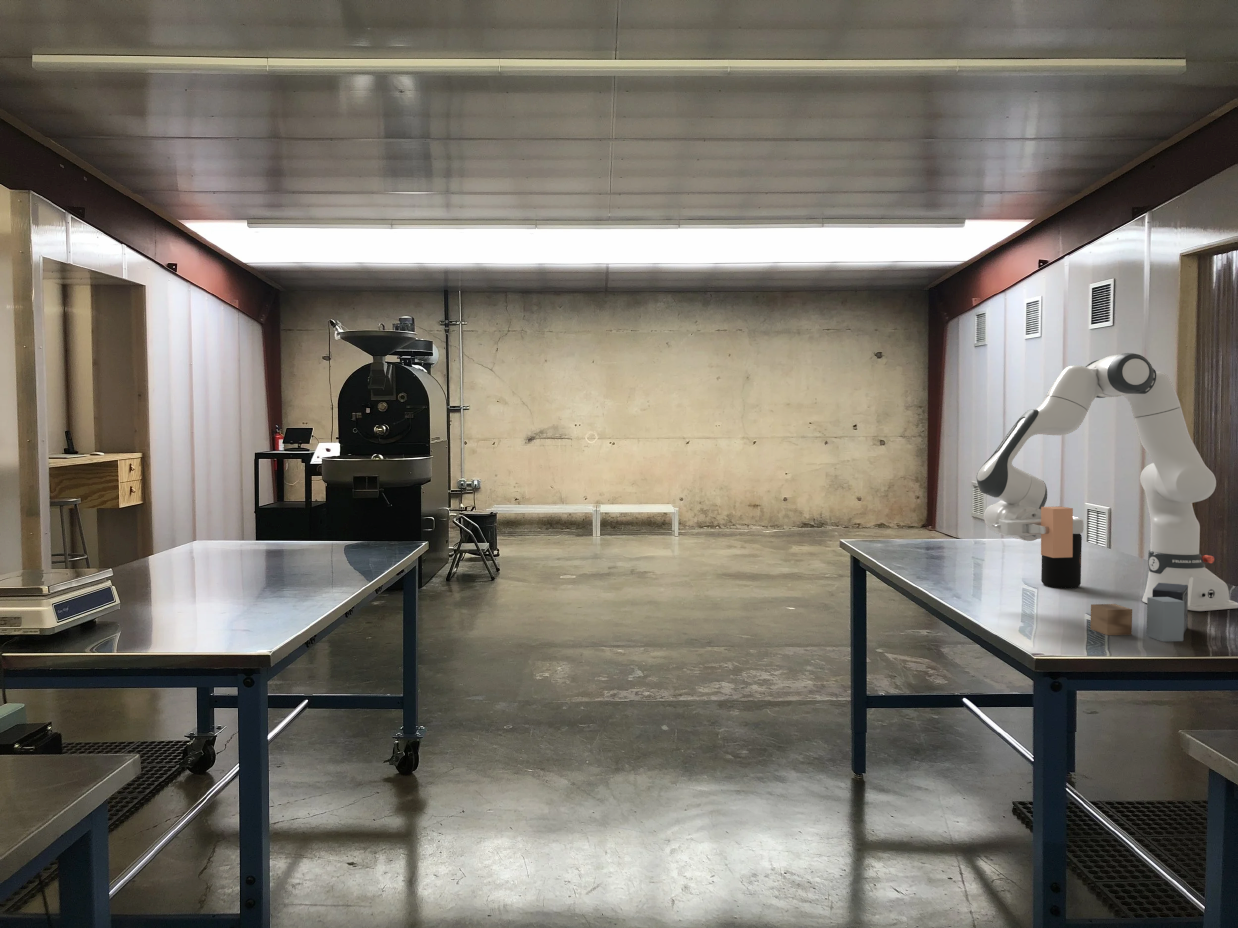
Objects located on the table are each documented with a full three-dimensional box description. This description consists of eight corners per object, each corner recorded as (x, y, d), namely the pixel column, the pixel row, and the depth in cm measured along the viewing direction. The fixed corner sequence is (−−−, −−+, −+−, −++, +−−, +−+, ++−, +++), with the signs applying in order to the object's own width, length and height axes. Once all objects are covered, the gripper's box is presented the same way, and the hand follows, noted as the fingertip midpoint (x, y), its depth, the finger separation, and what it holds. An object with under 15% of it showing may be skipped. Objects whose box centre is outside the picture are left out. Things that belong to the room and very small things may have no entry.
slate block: (1166, 635, 192) (1167, 596, 191) (1183, 640, 187) (1184, 601, 186) (1146, 635, 191) (1147, 597, 191) (1162, 641, 186) (1163, 601, 186)
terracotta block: (1060, 554, 208) (1060, 506, 207) (1072, 557, 203) (1072, 508, 202) (1040, 554, 207) (1041, 506, 207) (1053, 557, 202) (1053, 508, 202)
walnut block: (1114, 628, 199) (1114, 603, 198) (1131, 634, 193) (1132, 609, 192) (1090, 629, 198) (1090, 604, 198) (1107, 635, 192) (1107, 609, 192)
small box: (1156, 623, 203) (1157, 581, 203) (1188, 628, 199) (1189, 584, 198) (1150, 632, 195) (1151, 587, 194) (1183, 636, 191) (1184, 591, 190)
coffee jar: (1088, 589, 247) (1089, 528, 246) (1051, 589, 247) (1053, 528, 246) (1069, 582, 257) (1070, 524, 257) (1034, 582, 258) (1035, 524, 257)
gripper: (988, 512, 217) (1018, 518, 203) (1063, 510, 218) (1097, 516, 205) (988, 536, 217) (1018, 544, 203) (1063, 534, 219) (1097, 541, 205)
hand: (1058, 529), depth 204 cm, fingers closed on terracotta block, 5 cm apart
